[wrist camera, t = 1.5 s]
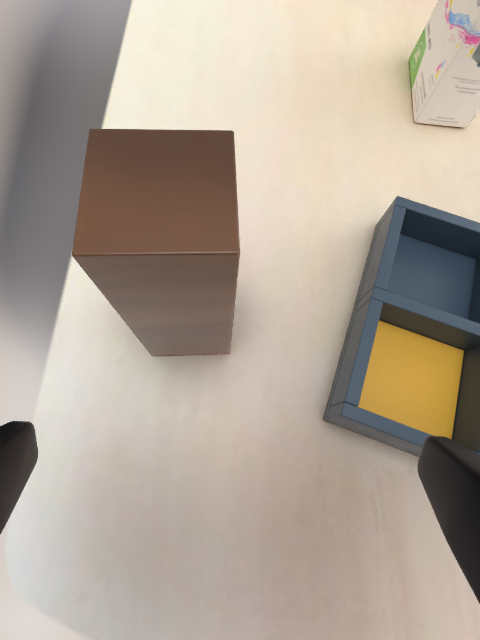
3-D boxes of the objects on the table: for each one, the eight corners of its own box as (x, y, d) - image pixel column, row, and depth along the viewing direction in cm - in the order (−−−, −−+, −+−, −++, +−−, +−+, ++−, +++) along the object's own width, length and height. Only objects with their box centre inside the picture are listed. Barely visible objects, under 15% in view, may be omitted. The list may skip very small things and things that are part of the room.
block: (229, 354, 22) (240, 253, 10) (151, 356, 22) (70, 255, 10) (227, 284, 24) (233, 129, 12) (154, 285, 23) (88, 128, 12)
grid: (574, 516, 20) (639, 530, 17) (322, 419, 21) (340, 415, 18) (578, 292, 25) (628, 271, 22) (376, 224, 26) (397, 195, 23)
